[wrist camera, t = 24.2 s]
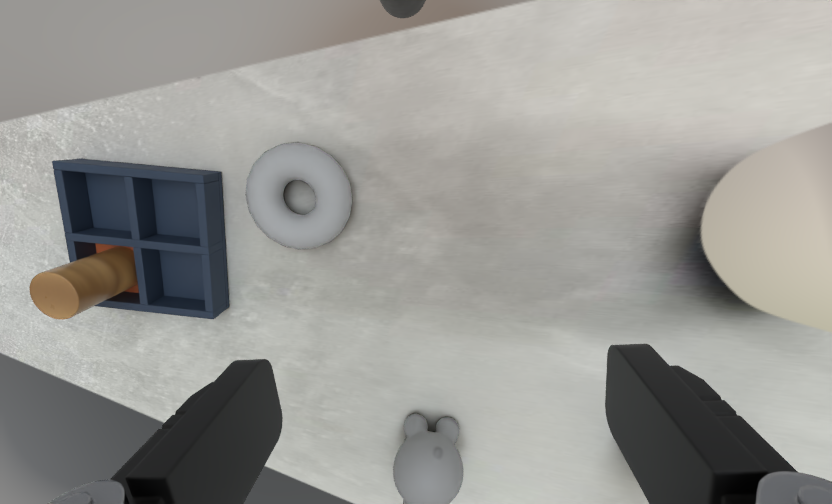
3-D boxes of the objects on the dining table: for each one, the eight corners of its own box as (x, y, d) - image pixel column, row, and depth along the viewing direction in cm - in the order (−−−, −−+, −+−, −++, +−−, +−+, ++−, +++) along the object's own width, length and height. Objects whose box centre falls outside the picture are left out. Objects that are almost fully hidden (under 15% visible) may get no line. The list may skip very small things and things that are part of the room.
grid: (80, 158, 40) (51, 160, 37) (221, 171, 39) (203, 175, 36) (102, 292, 44) (77, 304, 41) (229, 306, 44) (213, 319, 41)
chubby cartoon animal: (389, 485, 49) (377, 556, 41) (404, 403, 45) (394, 462, 37) (448, 496, 49) (448, 569, 41) (467, 414, 45) (471, 477, 37)
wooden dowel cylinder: (101, 244, 42) (24, 269, 34) (142, 248, 42) (74, 275, 34) (107, 283, 43) (34, 316, 35) (147, 288, 43) (82, 322, 35)
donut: (317, 262, 42) (376, 188, 39) (306, 274, 38) (369, 194, 35) (237, 199, 40) (292, 118, 37) (218, 206, 37) (277, 117, 34)
